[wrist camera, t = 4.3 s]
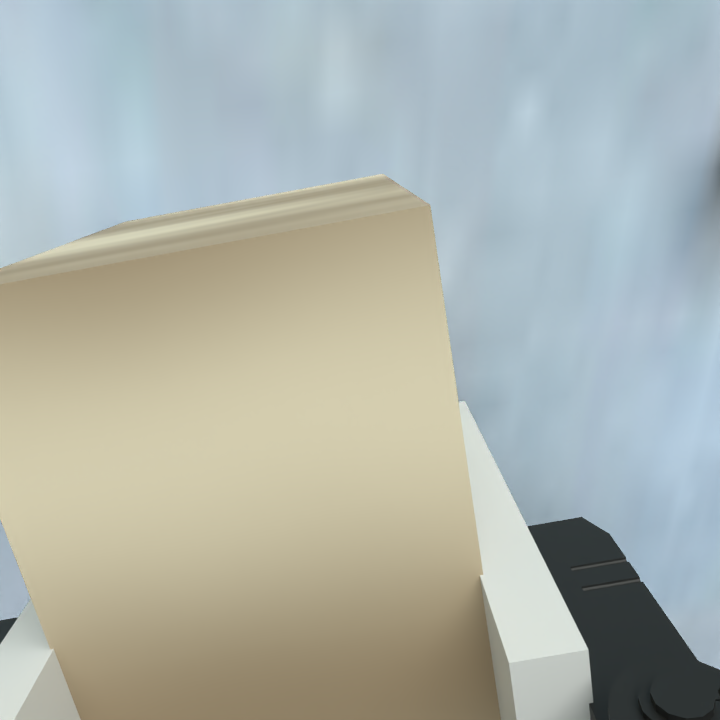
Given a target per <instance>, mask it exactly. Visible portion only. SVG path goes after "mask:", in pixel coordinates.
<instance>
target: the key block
mask: <svg viewBox="0 0 720 720" xmlns="http://www.w3.org/2000/svg"><path fill="white" fill-rule="evenodd" d="M0 519H1V522H2V525H3V527H4V530H5V532H6V535H7V538H8V540H9V543H10V545H11V548H12V551H13V553H14V556H15V558H16V561H17V564H18V566H19V569H20V572H21V574H22V577H23V579H24V582H25V585H26V587H27V590H28V592H29V595H30V598H31V600H32V603H33V605H34V608H35V611H36V613H37V616H38V618H39V621H40V624H41V626H42V629H43V631H44V634H45V637H46V639H47V642H48V645H49V647H50V649H54V651H55V654H56V657H57V659H58V662H59V664H60V667H61V670H62V672H63V675H64V677H65V680H66V683H67V685H68V688H69V691H70V693H71V696H72V698H73V701H74V704H75V706H76V709H77V711H78V714H79V717H80V719H81V720H501V717H500V710H499V703H498V696H497V689H496V682H495V676H494V669H493V662H492V655H491V648H490V641H489V634H488V627H487V621H486V614H485V607H484V600H483V593H482V586H481V579H480V575H483V569H482V562H481V555H480V548H479V541H478V534H477V527H476V520H475V514H474V507H473V500H472V493H471V486H470V479H469V472H468V465H467V458H466V451H465V444H464V437H463V430H462V423H461V416H460V409H459V402H458V395H457V388H456V381H455V374H454V367H453V360H452V353H451V347H450V340H449V333H448V326H447V319H446V312H445V305H444V298H443V291H442V284H441V277H440V270H439V263H438V256H437V249H436V242H435V235H434V228H433V221H432V214H431V207H430V205H429V204H428V203H426V202H425V201H423V200H422V199H420V198H419V197H417V196H416V195H414V194H413V193H411V192H410V191H408V190H407V189H405V188H403V187H402V186H400V185H399V184H397V183H396V182H394V181H393V180H391V179H390V178H388V177H387V176H385V175H384V174H380V175H374V176H369V177H363V178H358V179H353V180H347V181H342V182H337V183H331V184H326V185H320V186H315V187H310V188H304V189H299V190H293V191H288V192H283V193H277V194H272V195H266V196H261V197H256V198H250V199H245V200H240V201H234V202H229V203H223V204H218V205H213V206H207V207H202V208H196V209H191V210H186V211H180V212H175V213H170V214H164V215H159V216H153V217H148V218H143V219H137V220H132V221H126V222H123V223H121V224H118V225H115V226H113V227H110V228H107V229H105V230H102V231H99V232H97V233H94V234H91V235H89V236H86V237H83V238H81V239H78V240H75V241H73V242H70V243H67V244H64V245H62V246H59V247H56V248H54V249H51V250H48V251H46V252H43V253H40V254H38V255H35V256H32V257H30V258H27V259H24V260H22V261H19V262H16V263H14V264H11V265H8V266H6V267H3V268H0Z"/></svg>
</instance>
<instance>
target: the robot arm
mask: <svg viewBox="0 0 720 720" xmlns="http://www.w3.org/2000/svg"><path fill="white" fill-rule="evenodd" d="M459 409H460V416H461V423H462V430H463V437H464V444H465V451H466V458H467V465H468V472H469V479H470V486H471V493H472V500H473V507H474V514H475V520H476V527H477V534H478V541H479V548H480V555H481V562H482V569H483V575H480V579H481V586H482V593H483V600H484V607H485V614H486V621H487V627H488V634H489V641H490V648H491V655H492V662H493V669H494V676H495V682H496V689H497V696H498V703H499V710H500V717H501V720H720V670H719V669H716V668H714V667H711V666H709V665H706V664H704V663H702V662H699V661H698V660H697V659H696V657H695V656H694V654H693V653H692V652H691V650H690V649H689V647H688V646H687V644H686V643H685V642H684V640H683V639H682V637H681V636H680V634H679V633H678V631H677V630H676V629H675V627H674V626H673V624H672V623H671V621H670V620H669V619H668V617H667V616H666V614H665V613H664V611H663V610H662V609H661V607H660V606H659V604H658V603H657V601H656V600H655V599H654V597H653V596H652V594H651V593H650V591H649V590H648V589H647V587H646V586H645V584H644V583H643V582H641V581H640V578H639V576H638V574H637V573H636V571H635V570H634V568H633V567H632V566H631V564H630V563H629V562H627V561H626V557H625V556H624V554H623V553H622V551H621V550H620V548H619V547H618V546H617V544H616V543H615V541H614V540H613V538H612V537H611V536H610V534H609V533H607V532H605V531H604V530H602V529H600V528H599V527H597V526H595V525H594V524H592V523H590V522H589V521H587V520H586V519H584V518H582V517H579V518H574V519H568V520H562V521H556V522H550V523H545V524H539V525H533V526H527V525H526V523H525V521H524V519H523V517H522V515H521V513H520V511H519V509H518V507H517V505H516V503H515V501H514V499H513V497H512V495H511V493H510V491H509V489H508V487H507V485H506V483H505V481H504V479H503V477H502V475H501V473H500V471H499V469H498V467H497V465H496V463H495V461H494V459H493V457H492V455H491V453H490V451H489V449H488V447H487V445H486V443H485V441H484V439H483V437H482V435H481V433H480V431H479V429H478V427H477V425H476V423H475V421H474V419H473V417H472V415H471V413H470V411H469V409H468V407H467V404H466V402H465V401H462V402H459ZM0 720H81V719H80V717H79V714H78V711H77V709H76V706H75V704H74V701H73V698H72V696H71V693H70V691H69V688H68V685H67V683H66V680H65V677H64V675H63V672H62V670H61V667H60V664H59V662H58V659H57V657H56V654H55V651H54V649H50V647H49V645H48V642H47V639H46V637H45V634H44V631H43V629H42V626H41V624H40V621H39V618H38V616H37V613H36V611H35V608H34V605H33V603H32V600H31V599H30V601H29V602H28V604H27V605H26V607H25V608H24V610H23V611H22V613H21V614H20V615H19V617H18V618H12V619H6V620H1V621H0Z"/></svg>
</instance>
